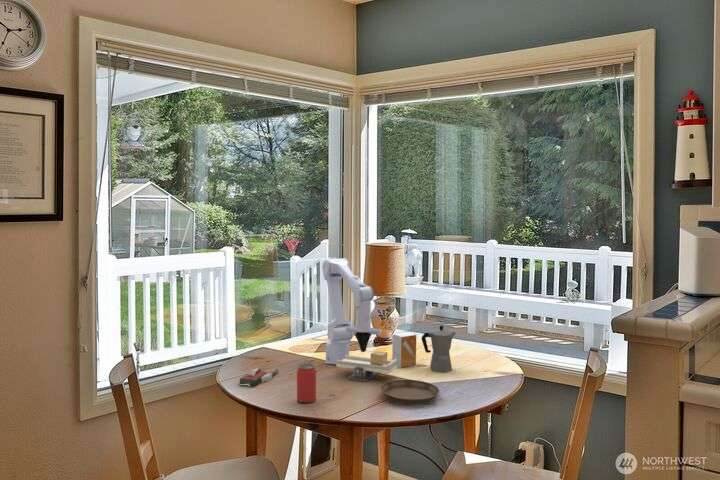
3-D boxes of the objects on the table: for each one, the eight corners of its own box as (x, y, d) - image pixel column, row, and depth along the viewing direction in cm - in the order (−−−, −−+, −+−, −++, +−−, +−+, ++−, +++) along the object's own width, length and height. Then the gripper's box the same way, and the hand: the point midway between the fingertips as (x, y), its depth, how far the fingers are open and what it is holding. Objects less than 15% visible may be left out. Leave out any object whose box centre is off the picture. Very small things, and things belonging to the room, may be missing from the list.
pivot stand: (347, 379, 231) (347, 368, 231) (361, 369, 245) (361, 358, 244) (366, 382, 228) (366, 370, 228) (380, 371, 242) (380, 360, 241)
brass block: (370, 366, 232) (370, 353, 232) (375, 363, 237) (375, 350, 237) (382, 368, 230) (382, 355, 230) (387, 364, 235) (387, 352, 235)
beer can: (297, 397, 211) (296, 363, 210) (316, 396, 211) (315, 363, 211) (296, 403, 204) (296, 369, 203) (316, 403, 205) (316, 368, 204)
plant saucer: (446, 392, 217) (446, 383, 217) (428, 411, 198) (429, 401, 198) (392, 385, 225) (392, 376, 225) (371, 402, 206) (371, 393, 206)
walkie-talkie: (258, 389, 221) (280, 373, 240) (258, 377, 221) (280, 362, 240) (236, 387, 223) (260, 371, 243) (236, 375, 223) (260, 361, 242)
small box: (401, 368, 246) (401, 336, 245) (391, 364, 252) (392, 333, 250) (416, 365, 251) (416, 334, 250) (407, 361, 256) (407, 331, 255)
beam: (336, 366, 236) (336, 358, 235) (345, 360, 244) (345, 353, 244) (389, 373, 227) (389, 365, 227) (396, 367, 236) (397, 359, 235)
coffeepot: (449, 364, 252) (450, 322, 250) (460, 370, 243) (461, 326, 241) (416, 368, 246) (416, 324, 245) (426, 374, 237) (427, 329, 236)
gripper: (342, 317, 235) (342, 351, 236) (377, 320, 229) (376, 355, 230) (349, 314, 241) (349, 347, 242) (383, 317, 236) (383, 351, 237)
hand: (363, 351), depth 237 cm, fingers closed
